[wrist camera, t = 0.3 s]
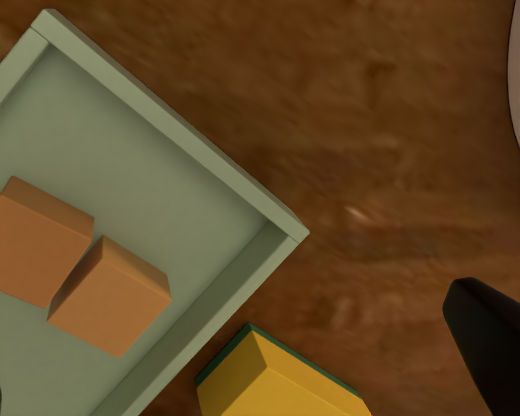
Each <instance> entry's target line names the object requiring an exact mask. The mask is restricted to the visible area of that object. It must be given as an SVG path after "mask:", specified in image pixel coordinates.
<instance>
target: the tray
mask: <svg viewBox="0 0 520 416" xmlns="http://www.w3.org/2000/svg"><path fill="white" fill-rule="evenodd" d="M11 176H15V177H17V178H19V179H21V180H23V181H25V182H27V183H29V184H31V185H33V186H35V187H37V188H39V189H40V190H42V191H44V192H46V193H48V194H50V195H52V196H54V197H56V198H58V199H60V200H62V201H64V202H66V203H68V204H69V205H71V206H73V207H75V208H77V209H79V210H81V211H83V212H85V213H87V214H89V215H91V216H93V217H94V218H95V219H94V228H93V237H92V242H91V243H90V245H89V246H88V248H87V249H86V250H85V252H84V253H83V255H82V256H81V258H80V259H79V261H78V262H77V263H76V265H77V264H78V263H79V262H80V261H81V260H82V258H83V257H84V256H85V255H86V254H87V253H88V251H89V250H90V249H91V248H92V247H93V246H94V245H95V243H96V242H97V241H98V240H99V239H100V238H101V237H102V235H105V236H107V237H108V238H110V239H111V240H113V241H115V242H116V243H118V244H119V245H121V246H122V247H124V248H126V249H127V250H129V251H130V252H132V253H133V254H135V255H137V256H138V257H140V258H141V259H143V260H144V261H146V262H148V263H149V264H151V265H152V266H154V267H156V268H157V269H159V270H160V271H162V272H163V273H165V274H167V278H168V283H169V288H170V294H171V299H172V301H171V302H170V304H169V305H168V306H167V307H166V308H165V309H164V310H163V311H162V312H161V313H160V314H159V316H158V317H157V318H156V319H155V320H154V321H153V322H152V323H151V324H150V325H149V327H148V328H147V329H146V330H145V331H144V332H143V333H142V334H141V335H140V336H139V338H138V339H137V340H136V341H135V342H134V343H133V344H132V345H131V346H130V347H129V348H128V350H127V351H126V352H125V353H124V354H123V355H122V356H121V357H120V358H117V357H115V356H113V355H111V354H109V353H107V352H105V351H103V350H101V349H99V348H97V347H95V346H93V345H91V344H89V343H87V342H85V341H83V340H81V339H79V338H77V337H75V336H73V335H71V334H69V333H67V332H65V331H63V330H61V329H59V328H57V327H55V326H53V325H51V324H49V323H47V322H46V321H47V317H48V313H49V308H50V304H51V301H50V303H49V304H48V305H47V307H46V308H45V309H43V308H40V307H38V306H35V305H33V304H30V303H28V302H25V301H23V300H20V299H18V298H15V297H13V296H10V295H8V294H5V293H3V292H0V387H1V393H2V403H1V415H0V416H138V415H139V414H140V413H141V412H142V411H143V410H144V409H145V408H146V406H147V405H148V404H149V403H150V402H151V401H152V400H153V399H154V398H155V397H156V396H157V395H158V394H159V393H160V392H161V390H162V389H163V388H164V387H165V386H166V385H167V384H168V383H169V382H170V381H171V380H172V379H173V378H174V377H175V376H176V374H177V373H178V372H179V371H180V370H181V369H182V368H183V367H184V366H185V365H186V364H187V363H188V362H189V361H190V360H191V358H192V357H193V356H194V355H195V354H196V353H197V352H198V351H199V350H200V349H201V348H202V347H203V346H204V345H205V344H206V342H207V341H208V340H209V339H210V338H211V337H212V336H213V335H214V334H215V333H216V332H217V331H218V330H219V329H220V328H221V326H222V325H223V324H224V323H225V322H226V321H227V320H228V319H229V318H230V317H231V316H232V315H233V314H234V313H235V312H236V310H237V309H238V308H239V307H240V306H241V305H242V304H243V303H244V302H245V301H246V300H247V299H248V298H249V297H250V296H251V294H252V293H253V292H254V291H255V290H256V289H257V288H258V287H259V286H260V285H261V284H262V283H263V282H264V281H265V280H266V278H267V277H268V276H269V275H270V274H271V273H272V272H273V271H274V270H275V269H276V268H277V267H278V266H279V265H280V264H281V262H282V261H283V260H284V259H285V258H286V257H287V256H288V255H289V254H290V253H291V252H292V251H293V250H294V249H295V248H296V246H297V245H298V243H301V242H302V241H303V239H304V238H305V237H306V236H307V235H308V234H309V233H310V232H309V230H308V229H307V228H306V227H305V226H304V225H303V223H302V222H301V221H300V220H299V219H298V218H297V217H296V215H295V214H294V213H293V212H292V211H291V210H290V208H288V207H287V206H286V205H285V204H284V203H283V202H281V201H280V200H279V199H278V198H277V197H275V196H274V195H273V194H272V193H271V192H270V191H268V190H267V189H266V188H265V187H264V186H263V185H261V184H260V183H259V182H258V181H257V180H255V179H254V178H253V177H252V176H251V175H250V174H248V173H247V172H246V171H245V170H244V169H243V168H241V167H240V166H239V165H238V164H237V163H235V162H234V161H233V160H232V159H231V158H230V157H228V156H227V155H226V154H225V153H224V152H223V151H221V150H220V149H219V148H218V147H217V146H215V145H214V144H213V143H212V142H211V141H210V140H208V139H207V138H206V137H205V136H204V135H203V134H201V133H200V132H199V131H198V130H197V129H195V128H194V127H193V126H192V125H191V124H190V123H188V122H187V121H186V120H185V119H184V118H183V117H181V116H180V115H179V114H178V113H177V112H175V111H174V110H173V109H172V108H171V107H170V106H168V105H167V104H166V103H165V102H164V101H163V100H161V99H160V98H159V97H158V96H157V95H155V94H154V93H153V92H152V91H151V90H150V89H148V88H147V87H146V86H145V85H144V84H143V83H141V82H140V81H139V80H138V79H137V78H135V77H134V76H133V75H132V74H131V73H130V72H128V71H127V70H126V69H125V68H124V67H122V66H121V65H120V64H119V63H118V62H117V61H115V60H114V59H113V58H112V57H111V56H110V55H108V54H107V53H106V52H105V51H104V50H102V49H101V48H100V47H99V46H98V45H97V44H95V43H94V42H93V41H92V40H91V39H90V38H88V37H87V36H86V35H85V34H84V33H82V32H81V31H80V30H79V29H78V28H77V27H75V26H74V25H73V24H72V23H71V22H70V21H68V20H67V19H66V18H65V17H64V16H62V15H61V14H60V13H59V12H58V11H57V10H55V9H43V10H42V11H41V12H40V14H39V15H38V16H37V17H36V19H35V20H34V21H33V23H32V24H31V27H30V28H28V29H27V30H26V32H25V33H24V34H23V35H22V37H21V38H20V39H19V40H18V42H17V43H16V44H15V45H14V47H13V48H12V49H11V50H10V52H9V53H8V54H7V56H6V57H5V58H4V59H3V61H2V62H1V63H0V193H1V191H2V190H3V188H4V187H5V185H6V184H7V182H8V180H9V179H10V177H11ZM76 265H75V266H76ZM75 266H74V268H75ZM74 268H73V269H74ZM73 269H72V270H73Z"/></svg>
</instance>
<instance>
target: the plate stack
mask: <svg viewBox="0 0 520 416" xmlns="http://www.w3.org/2000/svg"><path fill="white" fill-rule="evenodd" d="M508 93H509V104H510V111H511V117H512V122H513V127H514V131H515V135H516V138H517V141H518V144H519V147H520V0H516V3H515V8H514V13H513V19H512V25H511V33H510V41H509V53H508Z"/></svg>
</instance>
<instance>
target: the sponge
mask: <svg viewBox="0 0 520 416" xmlns="http://www.w3.org/2000/svg"><path fill="white" fill-rule="evenodd" d="M195 384H196V388H197V394H198V399H199V404H200V408H201V413H202V416H372V415H371V413H370V412H369V410H368V408H367V407H366V405H365V404H364V402H363V400H362V399H361V397H360V396H359V394H358V392H357V391H355V390H354V389H352V388H351V387H349V386H348V385H346V384H344V383H343V382H341V381H340V380H338V379H337V378H335V377H334V376H332V375H330V374H329V373H327V372H326V371H324V370H323V369H321V368H320V367H318V366H316V365H315V364H313V363H312V362H310V361H309V360H307V359H305V358H304V357H302V356H301V355H299V354H298V353H296V352H295V351H293V350H291V349H290V348H288V347H287V346H285V345H284V344H282V343H280V342H279V341H277V340H276V339H274V338H273V337H271V336H270V335H268V334H266V333H265V332H263V331H262V330H260V329H259V328H257V327H255V326H254V325H252V324H251V323H249V322H248V323H247V324H246V325H245V326H244V327H243V328H242V329H241V330H240V331H239V333H238V334H237V335H236V336H235V337H234V338H233V339H232V340H231V341H230V342H229V343H228V344H227V345H226V346H225V347H224V348H223V349H222V351H221V352H220V353H219V354H218V355H217V356H216V357H215V358H214V359H213V360H212V361H211V362H210V363H209V364H208V365H207V366H206V367H205V369H204V370H203V371H202V372H201V373H200V374H199V375H198V376H197V377H196V378H195Z"/></svg>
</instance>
